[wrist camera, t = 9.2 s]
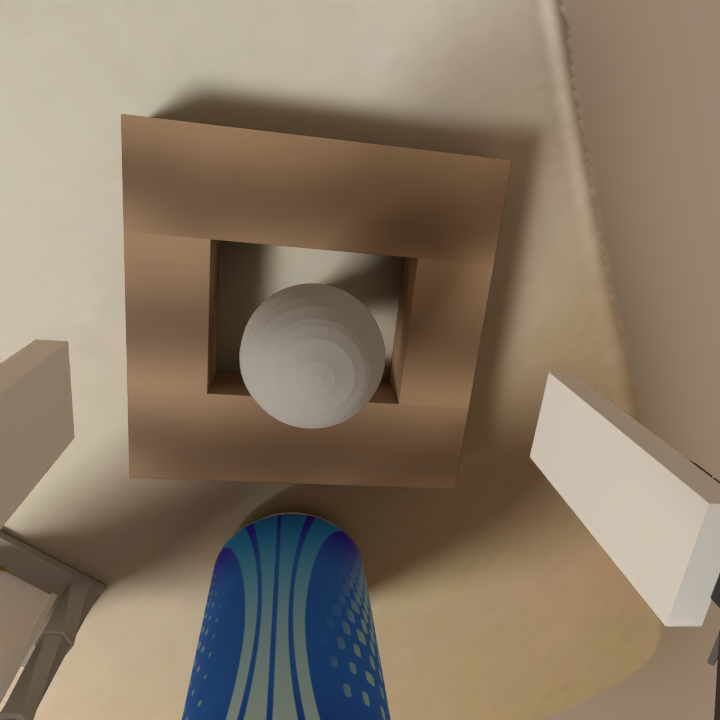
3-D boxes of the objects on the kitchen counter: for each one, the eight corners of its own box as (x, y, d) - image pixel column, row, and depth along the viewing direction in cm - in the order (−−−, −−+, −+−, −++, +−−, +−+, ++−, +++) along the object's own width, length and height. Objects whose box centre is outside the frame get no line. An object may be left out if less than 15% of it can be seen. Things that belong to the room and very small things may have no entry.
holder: (141, 121, 25) (121, 113, 22) (488, 162, 27) (511, 160, 24) (145, 448, 29) (129, 477, 26) (440, 461, 31) (454, 489, 29)
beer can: (205, 510, 31) (116, 829, 16) (355, 491, 31) (410, 779, 16) (228, 630, 33) (171, 1003, 18) (366, 610, 34) (422, 954, 19)
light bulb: (333, 239, 27) (353, 271, 18) (380, 335, 29) (421, 412, 19) (233, 288, 27) (200, 347, 18) (285, 381, 29) (281, 479, 20)
